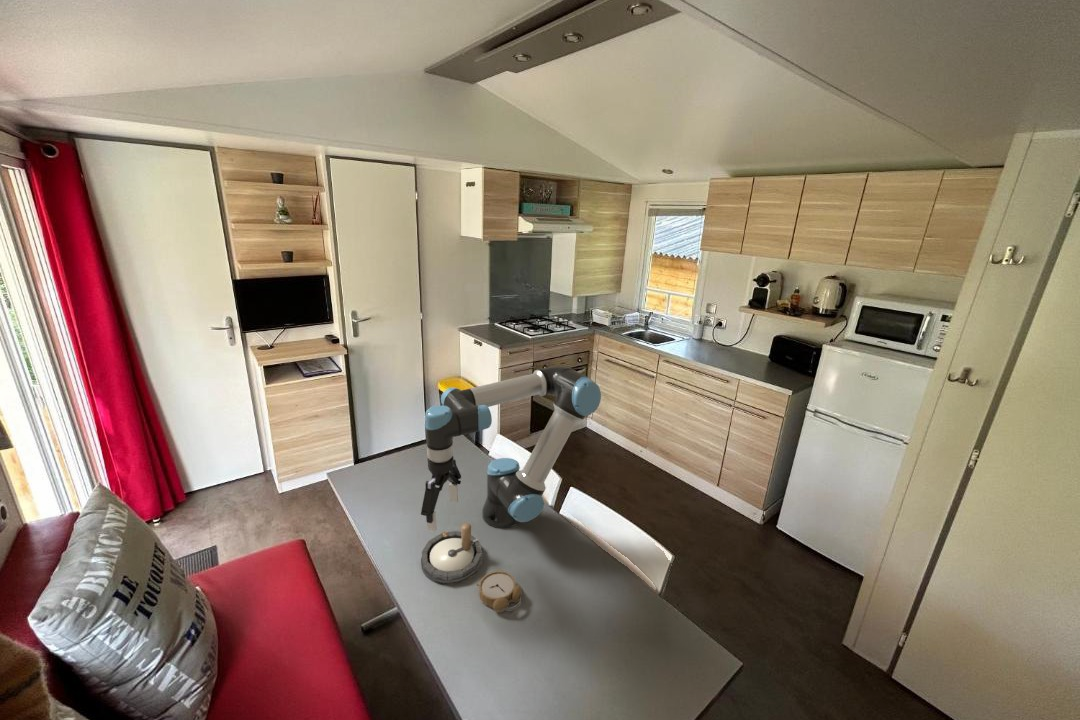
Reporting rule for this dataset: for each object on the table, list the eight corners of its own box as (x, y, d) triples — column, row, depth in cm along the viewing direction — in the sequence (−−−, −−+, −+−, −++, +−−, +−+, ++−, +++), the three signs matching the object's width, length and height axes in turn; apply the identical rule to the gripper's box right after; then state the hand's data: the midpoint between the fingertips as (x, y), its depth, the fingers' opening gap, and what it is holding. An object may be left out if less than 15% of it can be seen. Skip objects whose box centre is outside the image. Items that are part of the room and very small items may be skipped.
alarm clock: (499, 565, 141) (530, 587, 130) (501, 578, 142) (531, 601, 131) (470, 583, 133) (500, 609, 122) (472, 597, 134) (502, 624, 123)
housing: (477, 533, 157) (477, 525, 156) (487, 577, 139) (487, 568, 138) (419, 543, 151) (419, 534, 150) (422, 590, 133) (422, 580, 132)
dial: (441, 580, 135) (440, 556, 132) (422, 551, 146) (421, 528, 143) (481, 560, 144) (482, 537, 140) (461, 534, 154) (461, 512, 151)
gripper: (449, 434, 141) (452, 488, 149) (404, 477, 119) (410, 538, 126) (470, 438, 139) (472, 493, 146) (429, 483, 117) (433, 545, 124)
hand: (443, 514), depth 136 cm, fingers open, 13 cm apart
